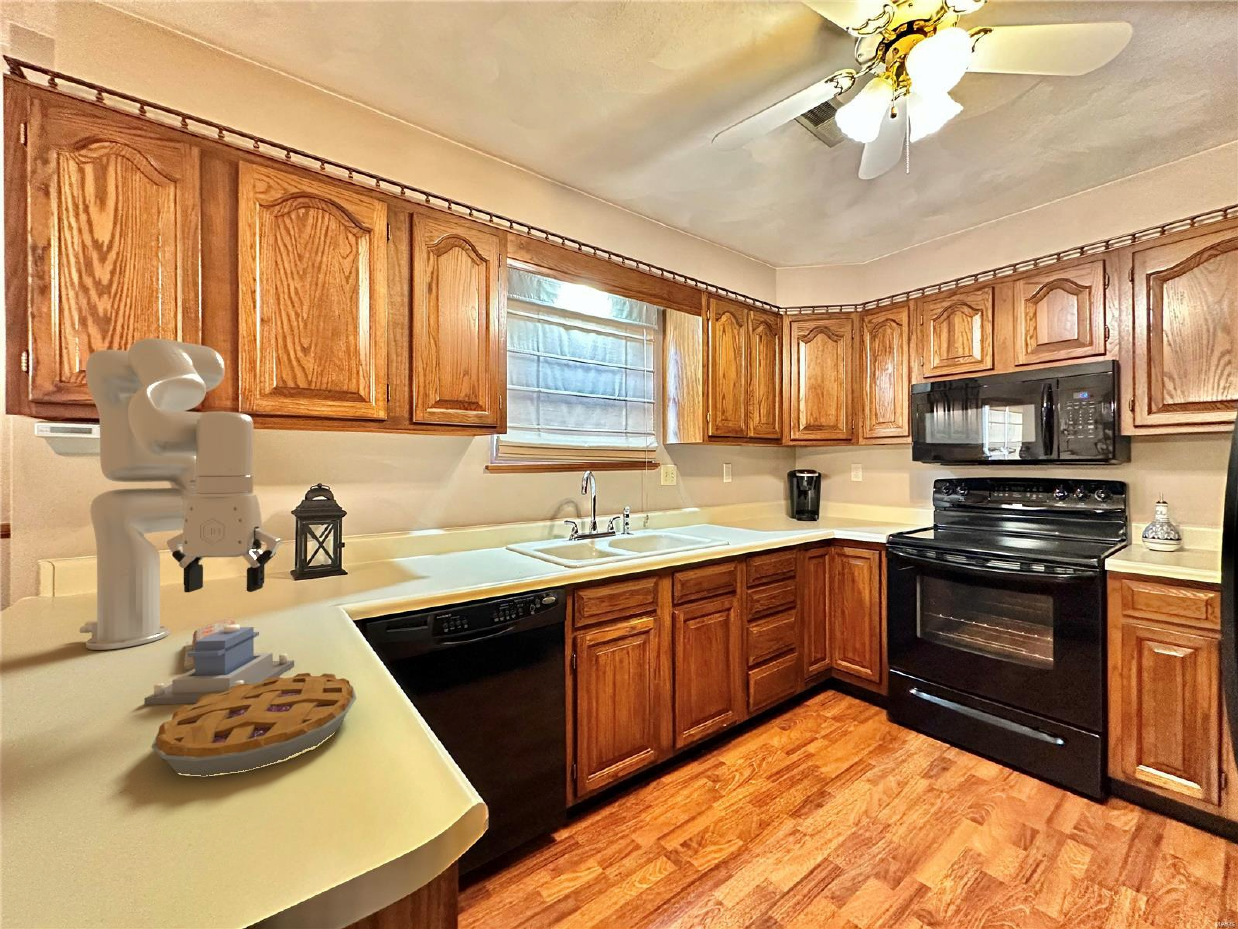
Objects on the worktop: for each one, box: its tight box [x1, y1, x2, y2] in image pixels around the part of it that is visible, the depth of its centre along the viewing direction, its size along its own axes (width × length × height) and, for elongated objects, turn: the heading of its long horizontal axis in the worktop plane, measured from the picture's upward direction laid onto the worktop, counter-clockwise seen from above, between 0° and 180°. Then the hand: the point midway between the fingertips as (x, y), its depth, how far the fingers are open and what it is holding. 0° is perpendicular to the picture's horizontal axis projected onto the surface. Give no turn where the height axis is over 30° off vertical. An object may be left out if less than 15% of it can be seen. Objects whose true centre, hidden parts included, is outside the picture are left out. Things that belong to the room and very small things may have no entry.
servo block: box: [188, 623, 260, 676], centre depth 84 cm, size 4×10×8 cm, turn 4°
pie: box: [150, 672, 357, 776], centre depth 68 cm, size 22×22×5 cm
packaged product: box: [183, 619, 236, 672], centre depth 99 cm, size 18×5×10 cm
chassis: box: [143, 652, 295, 706], centre depth 84 cm, size 14×14×3 cm
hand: (224, 590), depth 85 cm, fingers open, 9 cm apart
